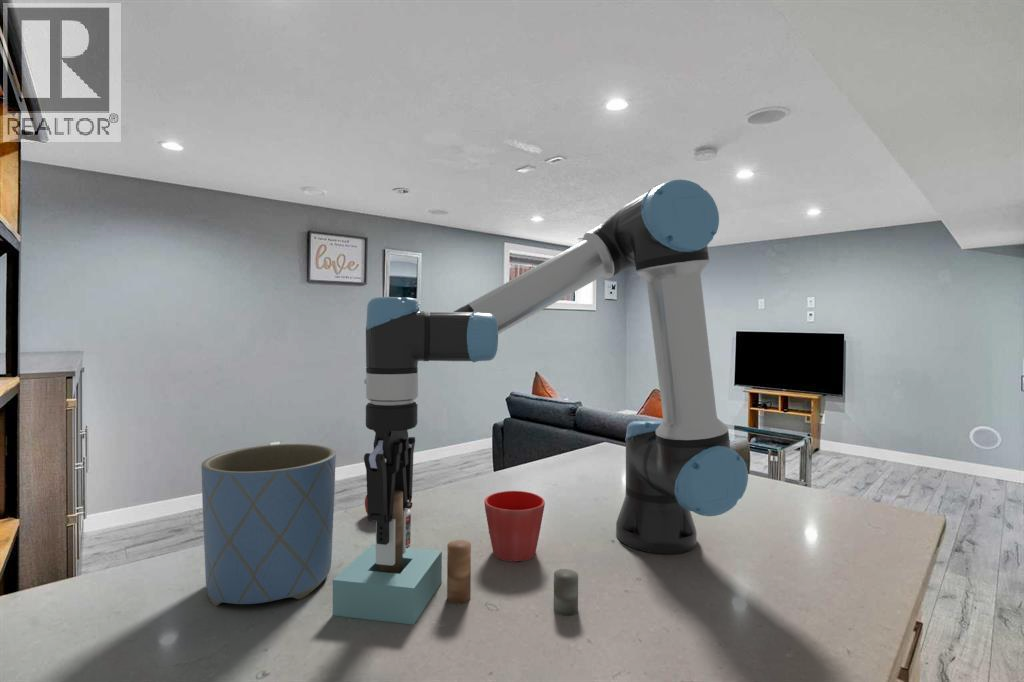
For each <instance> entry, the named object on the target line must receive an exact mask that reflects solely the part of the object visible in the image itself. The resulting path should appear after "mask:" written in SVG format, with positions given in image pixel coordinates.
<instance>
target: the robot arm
mask: <svg viewBox="0 0 1024 682" xmlns="http://www.w3.org/2000/svg"><path fill="white" fill-rule="evenodd" d="M719 226H720V213H719V210H718V206H717V203H716V202H715V199H714V198H713V196H712V195H711V194H710V192H708V190H706V189H704V188H703V187H702V186H701V185H700V184H698V183H697V182H694V181H692V180H687V179H681V178H680V179H679V178H678V179H672V180H669V181H666V182H664V183H662V184H661V183H660V184H656V185H655V186H653V187H651V189H649V190H648V191H647V192H645V193H643V194H642V195H640V196H639V197H637V198H635V199H634V200H632V201H630V202H629V203H627V204H625V205H624V206H622V207H621V208H620V209H619V210H618V211H616V212H615V213H614V214H612V215H611V216H609V218H607V219H606V220H605V221H603V222H601V224H598V225H597V226H595V227H594V228H593V229H591V230H589V231H587V232H585V233H584V234H583V237H582V241H580V242H578V243H576V244H574V245H572V246H571V247H569V248H567V249H565V250H563V251H562V252H560V253H558V254H557V255H554V256H553V257H551V258H548V259H547V260H545V261H543V262H542V263H540V264H538V265H536V266H534V267H532V268H530V269H529V270H527V271H525V272H522V274H521V273H520V275H518V276H516V277H514V278H512V279H511V280H509V281H507V282H505V283H504V284H501V285H500V286H498V287H496V288H494V289H492V290H490V291H488V292H487V293H484V294H483V295H482V296H479V297H478V298H475V299H474V300H472V301H470V302H469V303H467V304H466V305H463V306H461V307H459V308H458V309H456V310H454V311H448V312H447V311H445V312H444V311H442V312H439V311H438V312H436V311H435V312H432V311H431V312H429V311H422V310H420V307H419V302H418V300H417V299H416V298H413V297H400V296H399V297H398V296H377V297H374V298H373V297H372V299H370V301H368V303H367V306H366V324H365V371H366V372H365V373H366V376H365V379H364V381H363V382H364V384H365V386H366V387H365V390H366V391H365V398H366V399H367V400H368V401H370V402H368V403H366V405H365V427H366V428H367V429H368V430H372V431H373V432H374V433H375V434H374V440H373V450H372V452H371V453H370V452H367V453H366V452H365V454H364V455H363V462H364V466H365V470H366V471H365V472H366V473H365V474H366V475H365V476H366V477H365V478H366V495H367V510H368V514H367V520H368V521H370V522H375V545H376V564H381V565H391V566H393V565H394V564H395V522H396V519H392V518H393V504H394V490H401V491H402V492H403V554H404V553H405V552H406V548H407V547H406V510H405V508H409V510H411V509H412V507H413V502H412V500H413V477H414V471H413V470H414V451H415V445H416V444H415V443H416V438H415V436H409V430H411V429H414V428H416V426H417V425H418V407H419V406H418V403H417V402H416V401H415V400H416V399H418V397H419V374H418V373H419V372H418V369H419V367H418V363H419V362H472V363H476V362H486V361H489V362H490V361H492V360H494V358H495V357H496V356H497V352H498V346H499V335H500V334H502V333H503V332H505V331H507V330H509V329H511V328H513V327H514V326H516V325H518V324H519V323H521V322H523V321H524V320H526V319H528V318H530V317H532V316H533V315H535V314H537V313H539V312H541V311H542V310H545V309H546V308H548V307H549V306H552V305H554V304H555V303H557V302H558V301H560V300H562V299H564V298H565V297H568V296H569V295H571V294H574V293H575V292H577V291H579V290H580V289H582V288H584V287H585V286H588V285H590V284H591V283H592V282H594V281H596V280H598V279H601V278H603V279H610V278H612V277H614V276H616V275H618V274H620V273H622V272H625V271H627V270H629V269H632V268H635V272H636V274H637V275H638V276H639V277H641V278H642V279H643V280H645V283H646V286H647V295H648V305H649V312H650V321H651V329H652V338H653V345H654V353H655V362H656V371H657V378H658V379H657V380H658V387H659V395H660V397H659V398H660V404H661V412H662V420H657V419H655V420H634V421H631V422H629V423H628V424H627V426H626V433H625V439H624V441H625V496H624V499H623V502H622V505H621V508H620V511H619V514H618V516H617V520H616V522H615V524H616V525H615V526H616V527H615V534H616V538H617V539H618V541H620V542H621V543H623V544H625V545H626V546H628V547H631V548H633V549H636V550H639V551H643V552H646V553H647V552H648V553H654V554H661V555H663V554H665V555H670V554H671V555H672V554H673V555H674V554H681V553H682V554H683V553H686V552H689V551H691V550H693V549H694V548H696V546H697V535H698V533H697V528H696V525H695V522H694V518H693V515H692V513H691V512H693V513H695V514H697V515H700V516H704V517H716V516H721V515H723V514H725V513H727V512H729V511H730V510H732V509H734V507H735V506H736V505H737V503H738V501H739V500H740V499H742V498H743V496H744V494H745V492H746V490H747V487H748V484H749V483H748V482H749V471H748V467H747V463H746V462H745V460H744V458H743V457H742V456H741V455H740V454H739V453H738V451H736V450H735V449H732V448H731V440H730V433H729V428H728V426H727V424H725V423H724V422H723V421H722V420H720V419H719V418H718V414H717V406H716V397H715V389H714V381H713V373H712V372H713V371H712V364H711V356H710V346H709V336H708V328H707V319H706V310H705V302H704V291H703V285H702V284H703V283H702V277H701V274H702V272H703V271H704V269H705V268H706V267H707V266H708V264H709V263H710V259H709V258H710V256H709V248H708V245H709V244H710V243H711V242H712V241H713V239H714V237H715V235H716V234H717V233H718V231H719ZM411 499H412V500H411ZM408 500H411V502H408Z"/></svg>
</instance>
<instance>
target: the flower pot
mask: <svg viewBox="0 0 1024 682" xmlns="http://www.w3.org/2000/svg"><path fill="white" fill-rule="evenodd" d="M483 502H484V503H483V504H484V510H485V514H486V515H485V516H486V522H487V528H488V534H489V539H490V543H491V548H492V553H493V555H494V557H496V558H498V559H499V560H502V561H505V562H515V563H516V562H518V561H519V562H524V561H527V560H530V559H532V558H533V557H535V555H536V552H537V546H538V542H539V538H540V534H541V533H540V532H541V528H542V527H541V526H542V522H543V517H544V516H543V515H544V511H545V505H546V502H545V500H544V498H543V497H542V496H540V495H538V494H537V493H533V492H529V491H522V490H505V491H498V492H494V493H491V494H490V495H488V496H486V497H485V498H484V501H483Z"/></svg>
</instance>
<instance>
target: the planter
mask: <svg viewBox="0 0 1024 682" xmlns="http://www.w3.org/2000/svg"><path fill="white" fill-rule="evenodd" d="M336 455H337V454H336V450H334V449H333V448H331V447H328V446H324V445H319V444H312V443H310V444H309V443H280V444H279V443H278V444H266V445H257V446H250V447H244V448H243V447H242V448H238V449H233V450H229V451H225V452H221V453H218V454H214V455H213V456H210V457H208V458H206V459H205V460H203V461H202V462H201V467H200V469H201V495H202V500H201V501H202V521H203V522H202V524H203V542H204V543H203V549H204V569H205V571H204V573H205V587H206V592H207V596H208V599H209V600H210V602H211V604H212V605H214V606H215V607H218V606H219V605H221V604H222V603H225V604H234V605H255V604H263V603H270V602H273V601H279V600H284V599H287V598H288V599H289V598H294V599H295V600H297V601H298V600H302V599H304V598H306V597H307V596H308V595H310V594H311V593H312V592H313V591H314V590H315V589H316V588H317V587H318V586H320V585H321V584H322V582H323V581H324V580H325V579H326V578H327V576H328V575H329V573H330V571H331V567H332V561H333V560H332V557H333V553H332V552H333V538H334V537H333V532H334V510H335V491H336V490H335V488H336V487H335V486H336V484H335V483H336V457H337V456H336Z"/></svg>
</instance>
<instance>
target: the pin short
mask: <svg viewBox="0 0 1024 682" xmlns="http://www.w3.org/2000/svg"><path fill="white" fill-rule="evenodd" d="M553 610H554V612H555V613H556V614H558V615H561V616H564V617H565V616H567V617H569V616H573V615H575V614H577V613H578V610H579V573H578V572H577V571H576V570H573V569H570V568H561V569H557V570H555V571H554V572H553Z"/></svg>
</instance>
